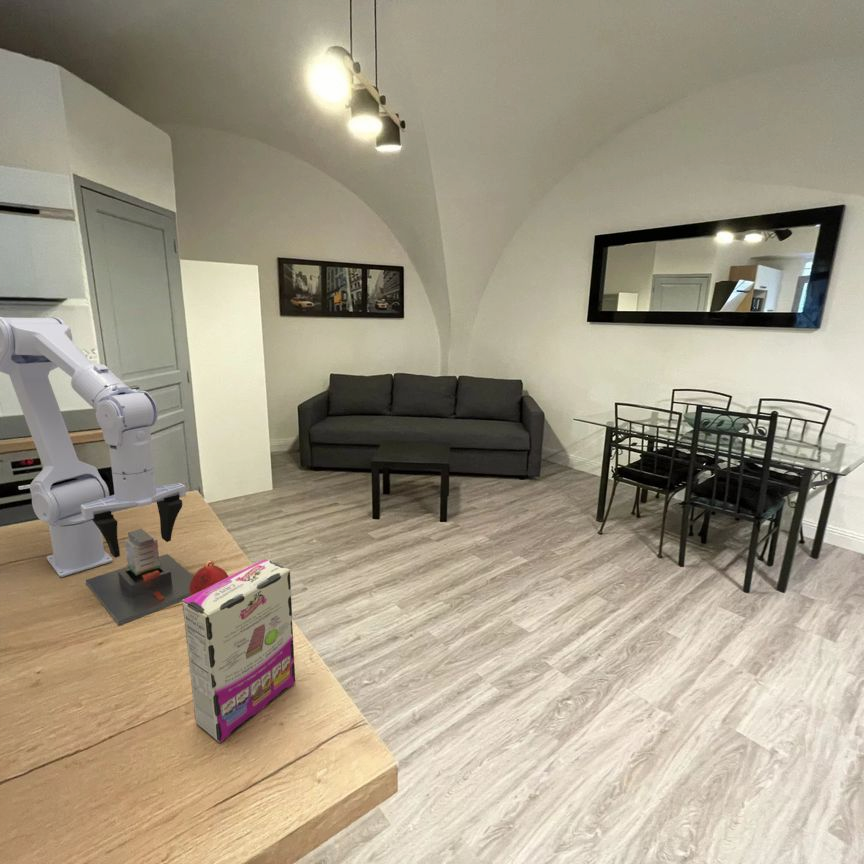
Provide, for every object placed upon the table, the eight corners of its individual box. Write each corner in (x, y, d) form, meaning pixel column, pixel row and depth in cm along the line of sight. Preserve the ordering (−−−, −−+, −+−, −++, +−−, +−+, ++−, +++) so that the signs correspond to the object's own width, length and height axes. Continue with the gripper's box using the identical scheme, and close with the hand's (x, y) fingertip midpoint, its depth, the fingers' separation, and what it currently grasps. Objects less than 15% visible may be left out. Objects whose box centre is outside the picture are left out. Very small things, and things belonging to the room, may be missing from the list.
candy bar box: (270, 667, 64) (265, 556, 60) (296, 683, 62) (293, 568, 58) (191, 725, 55) (179, 597, 51) (218, 746, 52) (208, 614, 49)
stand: (86, 584, 81) (83, 564, 80) (167, 557, 91) (166, 539, 90) (119, 625, 71) (116, 603, 70) (206, 591, 81) (205, 570, 80)
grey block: (125, 565, 80) (122, 533, 79) (150, 557, 83) (147, 527, 82) (137, 577, 77) (133, 544, 76) (162, 568, 80) (159, 536, 79)
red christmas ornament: (216, 621, 73) (212, 574, 71) (183, 614, 74) (178, 568, 72) (238, 599, 79) (235, 555, 77) (207, 594, 80) (204, 550, 78)
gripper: (86, 485, 68) (98, 572, 71) (191, 465, 79) (197, 540, 82) (72, 473, 73) (83, 555, 76) (173, 455, 83) (179, 527, 87)
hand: (141, 546), depth 79 cm, fingers open, 7 cm apart
